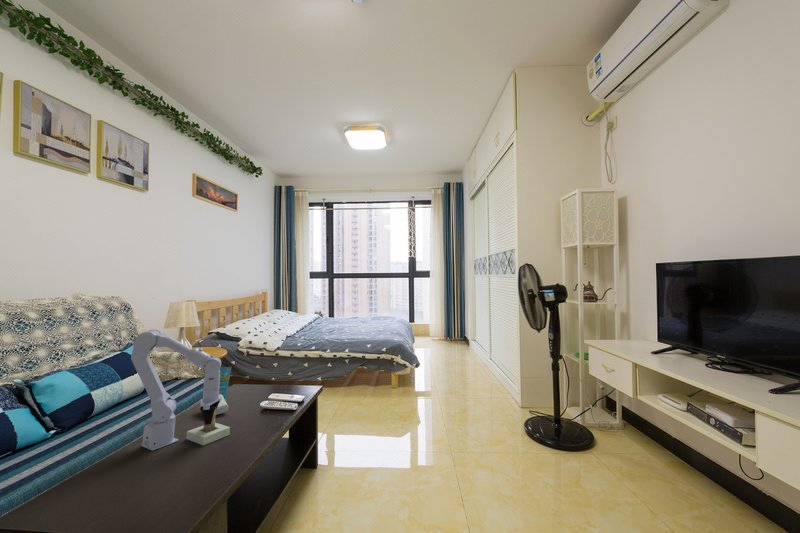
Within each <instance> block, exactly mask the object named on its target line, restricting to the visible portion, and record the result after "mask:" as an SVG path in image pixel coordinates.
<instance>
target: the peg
mask: <svg viewBox="0 0 800 533" xmlns="http://www.w3.org/2000/svg"><path fill="white" fill-rule="evenodd" d="M216 416H217V415H216V409H215V411H214V414H213V418H212V422H211V424H207V425H205V423H204V422H203V425H204V428H203V432H205V433H208V432H211V431H214V430H215V423H216Z"/></svg>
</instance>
